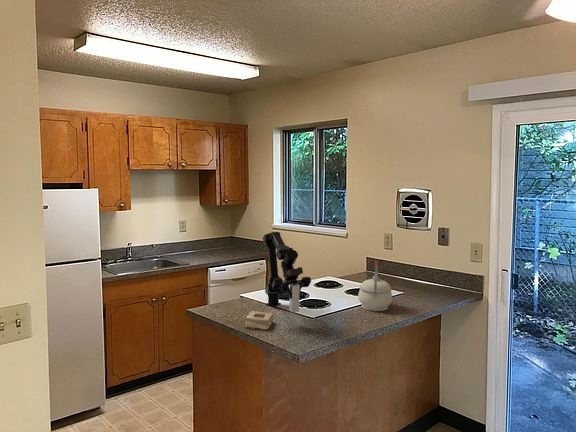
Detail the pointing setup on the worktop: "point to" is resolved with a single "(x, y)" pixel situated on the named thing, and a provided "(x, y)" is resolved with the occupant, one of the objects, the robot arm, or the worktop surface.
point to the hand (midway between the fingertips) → (295, 298)
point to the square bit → (294, 297)
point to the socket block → (259, 320)
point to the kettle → (375, 292)
